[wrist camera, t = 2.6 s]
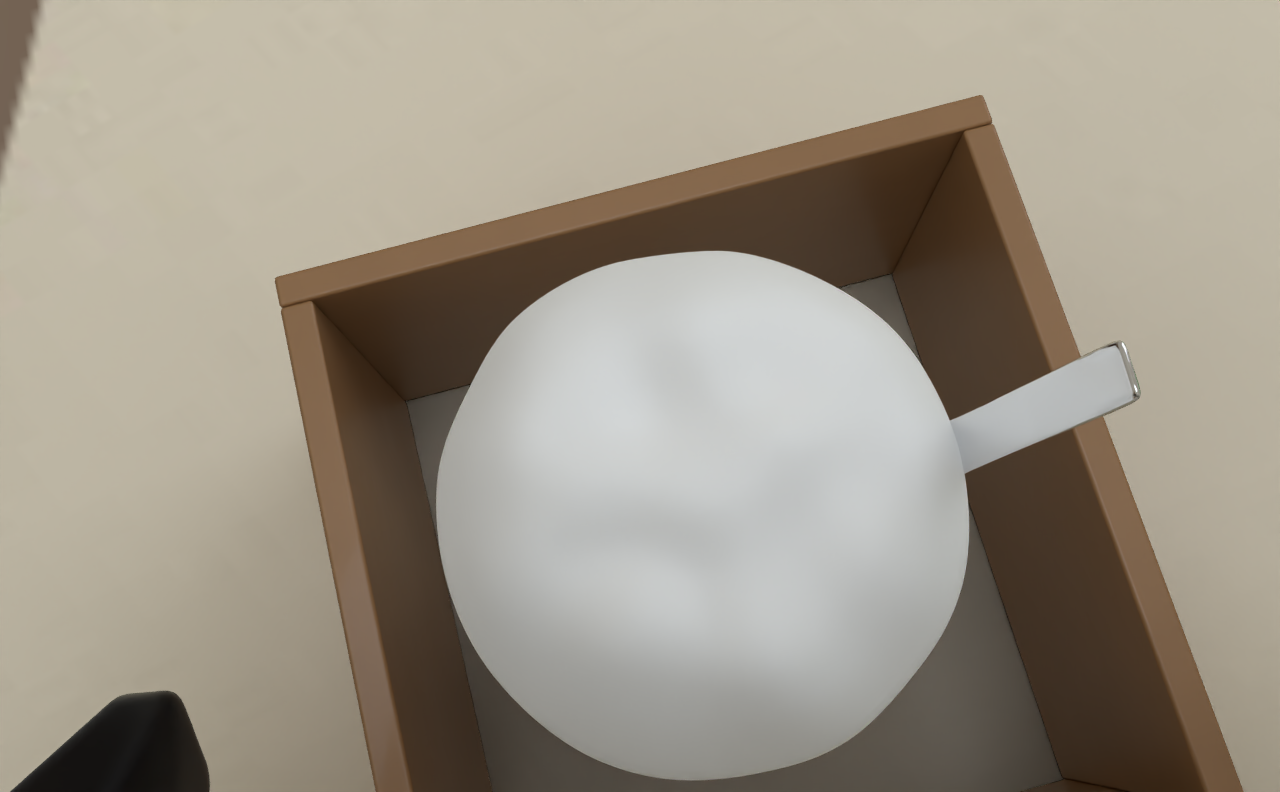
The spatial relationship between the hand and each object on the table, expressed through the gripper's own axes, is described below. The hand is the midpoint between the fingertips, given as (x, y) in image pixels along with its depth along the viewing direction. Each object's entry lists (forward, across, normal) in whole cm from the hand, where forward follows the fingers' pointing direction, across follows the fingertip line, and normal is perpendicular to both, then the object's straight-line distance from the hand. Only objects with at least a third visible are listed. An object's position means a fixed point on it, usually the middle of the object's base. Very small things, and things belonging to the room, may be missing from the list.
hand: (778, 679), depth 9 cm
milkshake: (+8, 0, +5) cm, 9 cm away
